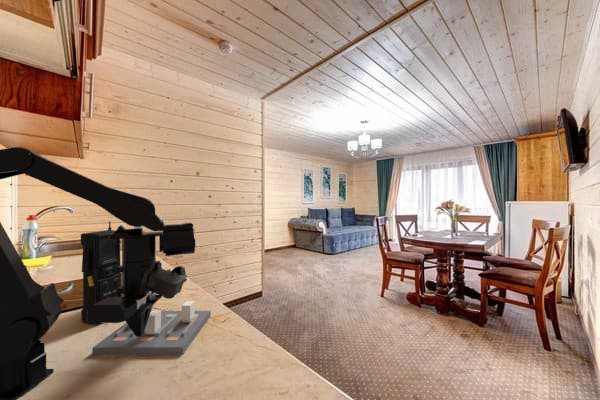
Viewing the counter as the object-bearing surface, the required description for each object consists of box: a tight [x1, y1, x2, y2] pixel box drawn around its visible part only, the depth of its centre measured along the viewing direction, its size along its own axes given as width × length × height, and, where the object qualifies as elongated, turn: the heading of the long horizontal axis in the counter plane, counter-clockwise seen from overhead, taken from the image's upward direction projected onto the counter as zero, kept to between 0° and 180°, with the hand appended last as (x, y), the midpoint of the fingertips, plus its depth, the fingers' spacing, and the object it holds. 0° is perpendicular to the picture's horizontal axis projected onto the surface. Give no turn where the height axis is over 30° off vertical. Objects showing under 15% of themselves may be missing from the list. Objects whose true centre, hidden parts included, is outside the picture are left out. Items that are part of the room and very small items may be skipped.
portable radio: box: [80, 220, 122, 325], centre depth 64 cm, size 8×6×25 cm
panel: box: [91, 310, 212, 356], centre depth 57 cm, size 18×16×2 cm
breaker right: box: [181, 300, 195, 322], centre depth 60 cm, size 2×2×4 cm
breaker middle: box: [146, 310, 162, 334], centre depth 55 cm, size 2×2×4 cm
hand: (139, 335), depth 50 cm, fingers closed
